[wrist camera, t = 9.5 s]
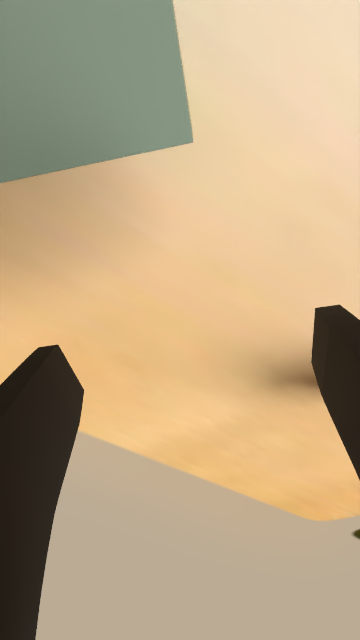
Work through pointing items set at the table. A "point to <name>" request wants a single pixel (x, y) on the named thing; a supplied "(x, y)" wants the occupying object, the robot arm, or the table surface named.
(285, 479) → the table surface
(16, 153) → the board
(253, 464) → the table surface
